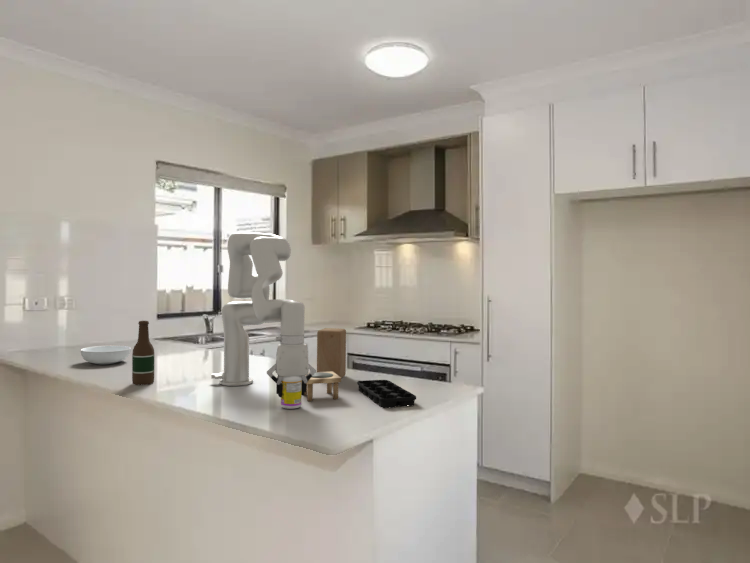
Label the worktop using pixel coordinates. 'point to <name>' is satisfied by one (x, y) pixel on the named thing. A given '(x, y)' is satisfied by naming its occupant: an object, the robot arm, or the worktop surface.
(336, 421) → the worktop surface
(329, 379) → the footstool
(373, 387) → the egg carton
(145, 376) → the beer bottle
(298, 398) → the supplement bottle
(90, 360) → the serving bowl
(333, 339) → the wooden block
